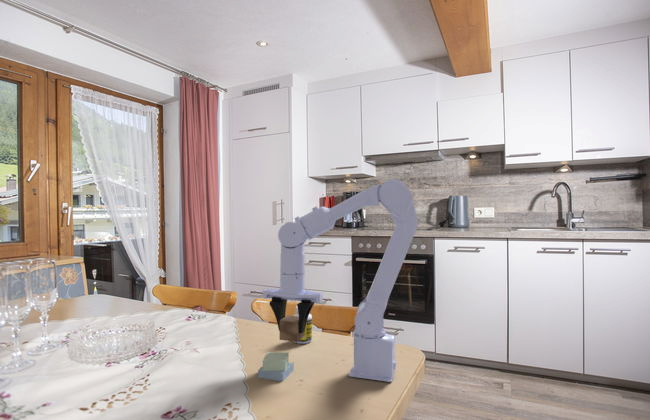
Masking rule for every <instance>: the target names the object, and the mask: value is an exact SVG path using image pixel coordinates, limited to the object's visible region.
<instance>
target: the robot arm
mask: <svg viewBox="0 0 650 420" xmlns="http://www.w3.org/2000/svg"><path fill="white" fill-rule="evenodd" d="M379 203H381V205H382V206H383V207H384V208H385V209H386V210H387V211H388V212H389V213H390V217H391V218H392V220H393V223H394V224H395V226H394V230H393V232H392V233H391V237H390V239H389V241H388V243H387V246H386V249H385V251H384V253H383V257H382V259H381V261H380V263H379V266H378V269H377V271H376V274H375V276H374V278H373V281H372V284H371V286H370V288H369V290H368V293H367V295H366V297H365V299H363V300H362V301H361V302H360V303H359V305H358V306H357V308H356V309H357V310H356V315H355V317H354V327H355V328H354V329H353V366H352V368H351V369H350V371H349V373H348V376H349V377H350V378H357V379H358V378H359V379H364V380H365V379H366V380H373V381H380V382H388V383H392V382H393V379H394V375H395V371H396V367H397V361H396V337H395V335H393V334H388V333H387V332H386V329H385V328H384V325H385V323H384V315H385V311H386V309H387V305H388V302H389V299H390V296H391V293H392V290H393V288H394V285H395V283H396V281H397V278H398V276H399V273H400V271H401V268H402V266H403V264H404V261H405V259H406V255H407V253H408V251H409V249H410V246H411V244H412V243H413V242H412V241H413V240H414V237H415V234H416V231H417V229H418V227H419V221H418V216H417V212H416V208H415V207H416V206H415V203H414V196H413V194H412V192H411V191H410V189H409V187H408V186H407V185H406V183H405V182H403V181H401V180H399V179H388V180H386V181H385V182H383V184H382V183H379V184H376V185H373V186H370V187H368V188H366V189H363V190H362V191H360V192H358V193H356V194H354V195H352V196H351V197H349V198H347V199H345V200H343V201H341V202H340V203H338V204H336V205H334V206H332V207H329V208H328V207H327V206H320V207H318V206H314V207H312V208H311V211H310V212H308V213H306V214H304V215H303V216H296V217H294V220H295V221H294V222H293V221H287V222H285V224H283V225H282V226H281V227H280V228H279V230H278V232H277V236H278V237H277V238H278V240H279V243H280V263H279V264H280V266H279V268H280V277H279V279H280V280H279V281H280V282H279V286H280V287H279V288H266V289H263V290H262V299H271V301H269V306H270V308H271V310H272V312H273V314H274V316H275V319H276V324H277V328H278V331H279V332H280V320H281V319H283V318H284V317H286V312H287V311H286V310H287V305H288V304H287V302H288V301H299V302H298V303H297V304H296V306H297V307H298V314H299V333H303V332H304V331H305V327H306V322H307V319H308V316H309V314H311V311H312V309H313V307H314V305H315V303H316V304H320V303H322V302H323V299H324V298H323V296H324V295H323V293H322V292H315V291H310V290H305V278H306V276H305V273H306V272H305V270H306V269H305V265H306V263H305V262H306V261H305V259H306V255H305V243H306V241H307V240H312V239H314V238H316V237H318V236H321V235H323V234H324V233H326V232H329V231H330V230H332V229H334V228H335V224H336V222H337V221H338V220H340V219H342V218H344V217H346V216H348V215H351V214H354V213H355V212H357V211H359V210H362V209H364V208H365V207H379V206H380V204H379Z"/></svg>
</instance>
